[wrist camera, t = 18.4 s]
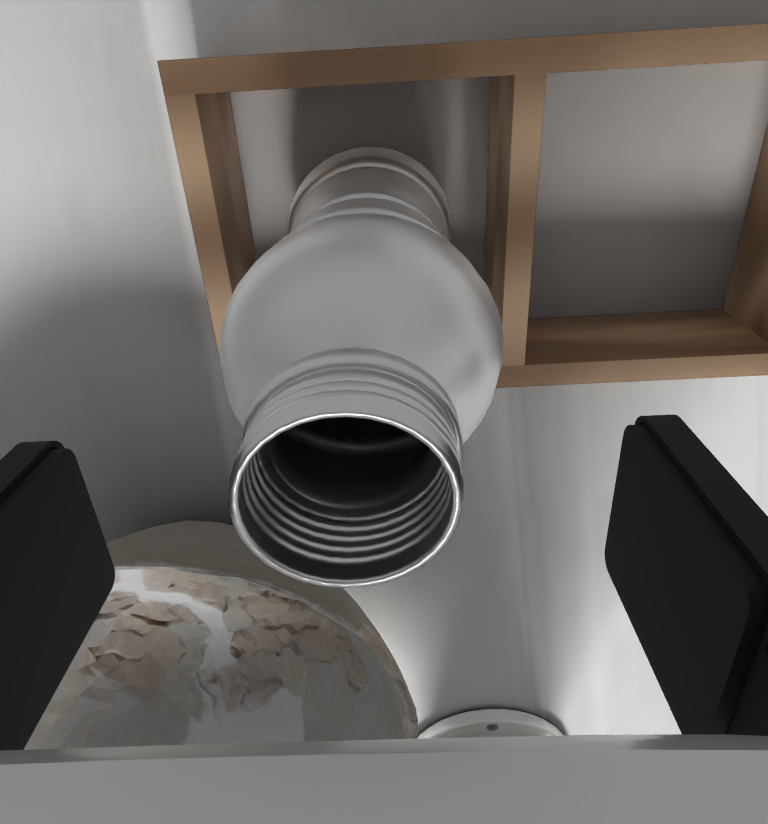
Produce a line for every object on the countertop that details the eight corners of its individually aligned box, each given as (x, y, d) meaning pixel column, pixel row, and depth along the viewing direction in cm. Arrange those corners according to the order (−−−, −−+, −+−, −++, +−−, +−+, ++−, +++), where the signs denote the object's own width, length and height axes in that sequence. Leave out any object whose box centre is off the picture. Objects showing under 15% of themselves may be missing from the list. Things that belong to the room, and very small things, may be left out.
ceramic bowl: (-11, 432, 32) (-154, 567, 24) (415, 432, 32) (427, 567, 24) (90, 690, 43) (18, 845, 35) (407, 690, 44) (412, 845, 35)
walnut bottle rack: (738, 327, 29) (800, 373, 25) (250, 351, 30) (228, 400, 26) (819, 23, 23) (920, 13, 19) (198, 61, 24) (157, 60, 19)
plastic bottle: (270, 175, 26) (32, 407, 8) (418, 112, 24) (497, 230, 7) (330, 308, 29) (247, 680, 11) (465, 258, 27) (600, 589, 10)
